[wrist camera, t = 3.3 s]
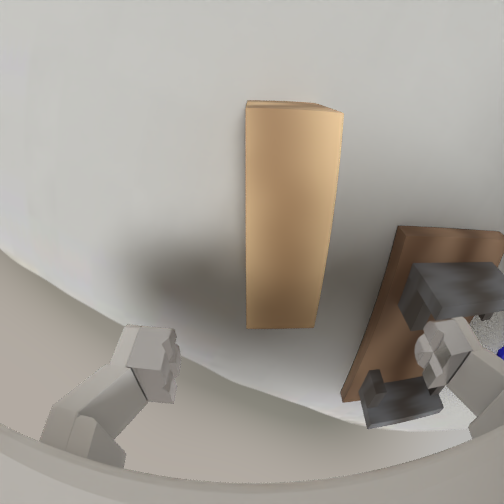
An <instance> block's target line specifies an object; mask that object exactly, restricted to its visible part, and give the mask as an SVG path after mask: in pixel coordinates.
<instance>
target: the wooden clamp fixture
mask: <svg viewBox="0 0 504 504" xmlns="http://www.w3.org/2000/svg"><path fill="white" fill-rule="evenodd" d="M503 253H504V235H503V234H502V233H500V232H497V231H484V230H469V229H453V228H436V227H417V226H398V228H397V232H396V236H395V240H394V243H393V247H392V251H391V255H390V258H389V262H388V265H387V269H386V272H385V275H384V279H383V282H382V285H381V288H380V291H379V295H378V298H377V301H376V304H375V307H374V309H373V312H372V315H371V318H370V321H369V324H368V326H367V329H366V332H365V335H364V337H363V340H362V342H361V345H360V348H359V350H358V353H357V355H356V358H355V360H354V362H353V365H352V367H351V370H350V372H349V374H348V377H347V379H346V381H345V383H344V386H343V388H342V390H341V397H342V402H352V401H360V400H361V404H362V408H363V413H364V417H365V421H366V426H367V429H371V428H377V427H382V426H387V425H392V424H397V423H401V422H406V421H410V420H414V419H418V418H422V417H426V416H429V415H433V414H437V413H439V412H440V411H441V410H442V409H443V408H444V407H443V404H442V402H441V399H440V397H439V393H440V391H441V390H442V389H443V388H444V386H445V385H444V386H439V387H434V388H430V389H428V388H427V385H426V383H425V380H424V378H423V375H422V372H423V368H422V367H421V366H420V365H418V363H417V361H416V358H415V353H414V352H415V344H416V342H417V340H418V338H419V337H421V336H422V335H423V334H424V331H423V328H424V326H425V325H426V323H428V322H429V321H434V320H441V319H448V318H456V317H463V318H465V319H466V321H467V322H468V324H470V322H471V320H472V318H473V317H474V315H478V316H479V317H480V319H481V320H482V321H483V320H488V319H490V318H491V317H492V315H493V313H494V312H498V311H504V275H503V273H502V272H501V271H500V270H499V269H498V265H499V263H500V261H501V258H502V256H503Z"/></svg>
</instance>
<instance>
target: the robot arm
mask: <svg viewBox="0 0 504 504" xmlns="http://www.w3.org/2000/svg"><path fill="white" fill-rule="evenodd" d="M423 331H424V334H423V335H422V336H421V337H419V338H418V340H417V342H416V344H415V352H414V353H415V358H416V361H417V363H418V365H420V366H421V367H422V368H423V372H422V375H423V378H424V380H425V383H426V385H427V388H428V389H430V388H434V387H439V386H444V385H447V387H448V388H449V389H450V390H451V391H452V392H453V393H454V394H455V395H456V396H457V397H458V398H459V399H460V400H461V401H462V402H463V403H464V404H465V405H466V406H467V407H468V408H469V409H470V410H471V411H472V412H473V413H474V414H475V415H476V416H477V418H476V419H475V420H474V421H473V422H471V423H470V425H469V427H468V428H469V431H470V433H471V436H472V440H469V441H467V442H464V443H462V444H460V445H457V446H455V447H452V448H449V449H446V450H444V451H441V452H438V453H435V454H432V455H429V456H426V457H423V458H420V459H416V460H413V461H409V462H406V463H402V464H399V465H395V466H391V467H387V468H383V469H378V470H373V471H369V472H364V473H359V474H353V475H347V476H341V477H334V478H327V479H318V480H308V481H296V482H280V483H226V482H209V481H198V480H187V479H180V478H172V477H165V476H159V475H153V474H148V473H142V472H137V471H133V470H128V469H124V463H125V458H126V453H125V451H124V450H123V449H122V448H121V447H120V446H119V445H118V444H117V443H116V442H115V441H114V439H115V438H116V437H117V436H118V435H119V434H120V433H121V432H122V431H123V429H124V428H125V427H126V426H127V425H128V424H129V423H130V422H131V421H132V420H133V419H134V418H135V416H136V415H137V414H138V413H139V412H140V411H141V410H142V409H143V408H144V407H145V406H146V404H147V403H148V402H147V401H150V402H159V403H171V404H174V399H175V394H176V389H177V385H176V382H175V378H176V377H177V376H178V375H179V373H180V367H181V353H180V348H179V346H178V345H177V344H176V343H175V342H176V338H177V336H176V333H175V329H172V328H161V327H150V326H138V325H128V324H127V325H126V326H125V327H124V329H123V331H122V334H121V337H120V339H119V341H118V344H117V346H116V349H115V352H114V354H113V357H112V359H111V362H110V364H109V365H104V366H102V367H101V368H100V369H99V370H97V371H96V372H95V373H93V374H92V375H91V376H90V377H88V378H87V379H86V380H84V381H83V382H82V383H81V384H79V385H78V386H77V387H75V388H74V389H73V390H72V391H70V392H69V393H68V394H66V395H65V396H64V397H63V398H61V399H60V400H59V401H58V402H56V403H55V404H54V405H53V406H52V408H51V411H50V413H49V416H48V419H47V421H46V424H45V426H44V429H43V432H42V435H41V438H40V440H39V441H37V440H35V439H32V438H30V437H28V436H25V435H23V434H21V433H19V432H17V431H15V430H12V429H11V428H8V427H6V426H5V425H2V424H0V504H504V360H503V359H501V358H500V357H498V356H497V355H496V354H494V353H493V352H491V351H490V350H488V349H487V348H483V347H482V345H481V343H480V342H479V340H478V338H477V337H476V335H475V333H474V332H473V330H472V328H471V327H470V325H469V324H468V322H467V321H466V319H465V318H463V317H456V318H448V319H441V320H434V321H429V322H428V323H426V325H425V326H424V328H423Z"/></svg>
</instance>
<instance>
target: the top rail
mask: <svg viewBox="0 0 504 504" xmlns="http://www.w3.org/2000/svg"><path fill="white" fill-rule="evenodd" d="M343 118H344V113H342V112H339V111H336V110H333V109H331V108H328V107H325V106H322V105H319V104H316V103H306V102H289V101H256V100H248V101H247V104H246V328H247V329H284V328H314V325H315V320H316V315H317V310H318V305H319V299H320V294H321V289H322V283H323V278H324V272H325V266H326V260H327V254H328V248H329V241H330V234H331V228H332V221H333V213H334V206H335V198H336V190H337V182H338V173H339V163H340V153H341V142H342V131H343Z"/></svg>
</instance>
